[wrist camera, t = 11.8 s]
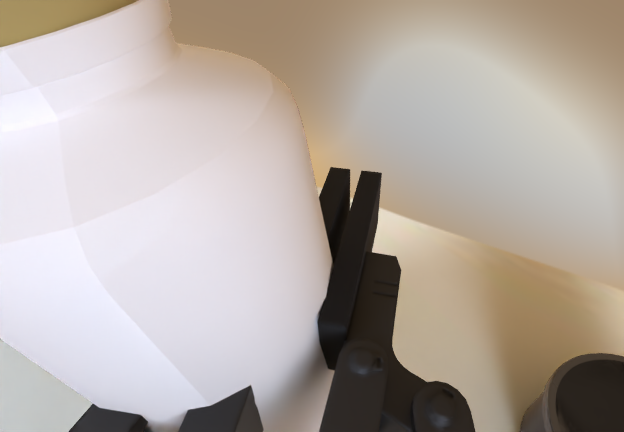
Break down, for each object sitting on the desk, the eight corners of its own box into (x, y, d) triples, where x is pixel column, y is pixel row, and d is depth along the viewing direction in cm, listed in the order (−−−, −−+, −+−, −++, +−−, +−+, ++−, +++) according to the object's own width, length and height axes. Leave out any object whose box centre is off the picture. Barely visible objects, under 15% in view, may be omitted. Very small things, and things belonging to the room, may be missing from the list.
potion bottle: (212, 331, 21) (-32, -31, 10) (354, 318, 20) (277, -105, 9) (170, 511, 15) (-661, 122, 3) (371, 506, 14) (176, -79, 2)
